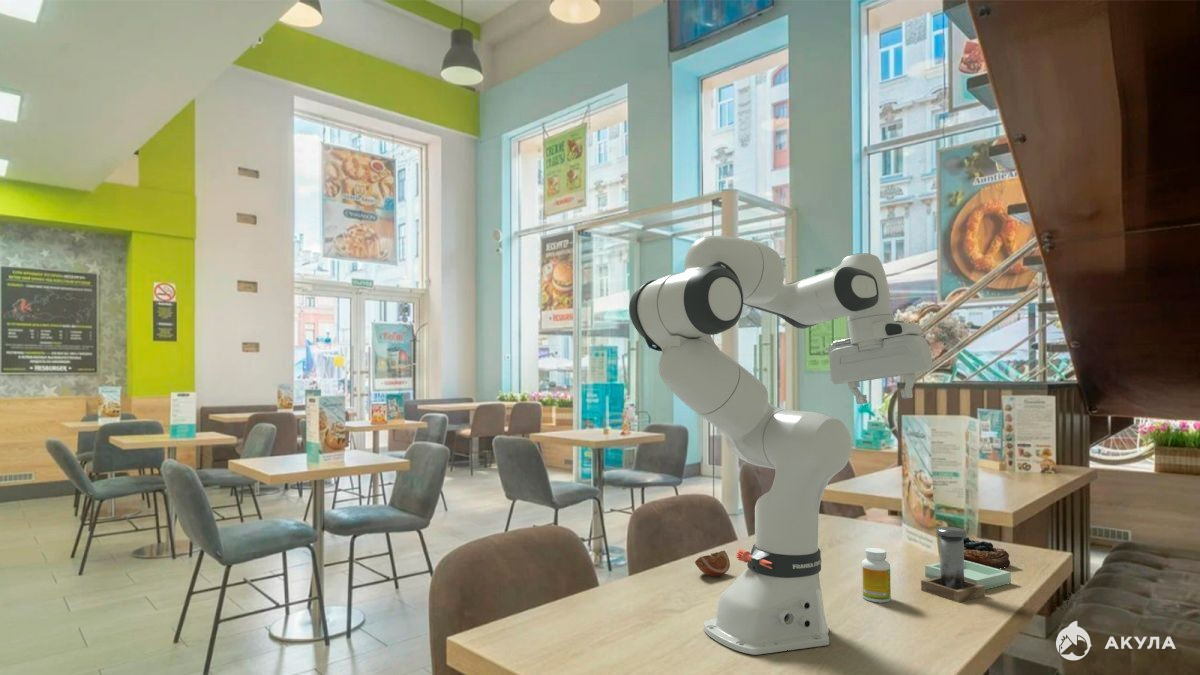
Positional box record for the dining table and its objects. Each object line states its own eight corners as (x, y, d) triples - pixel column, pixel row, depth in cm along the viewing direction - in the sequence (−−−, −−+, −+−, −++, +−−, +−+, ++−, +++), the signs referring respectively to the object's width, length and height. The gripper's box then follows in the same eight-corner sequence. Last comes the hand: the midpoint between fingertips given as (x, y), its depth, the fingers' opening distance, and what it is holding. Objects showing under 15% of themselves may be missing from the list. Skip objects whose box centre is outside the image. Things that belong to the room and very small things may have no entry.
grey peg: (956, 599, 138) (955, 534, 139) (931, 591, 143) (930, 528, 143) (973, 594, 141) (972, 531, 141) (948, 587, 146) (947, 525, 146)
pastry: (975, 555, 171) (974, 531, 171) (1018, 569, 160) (1017, 543, 160) (940, 559, 168) (940, 535, 168) (982, 573, 156) (982, 547, 157)
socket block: (958, 602, 136) (958, 592, 136) (921, 590, 144) (921, 580, 144) (984, 595, 140) (984, 585, 140) (946, 584, 147) (946, 574, 148)
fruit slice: (709, 582, 148) (709, 559, 148) (687, 575, 153) (687, 552, 154) (735, 575, 153) (735, 553, 153) (713, 568, 159) (713, 546, 159)
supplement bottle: (893, 604, 135) (892, 554, 135) (864, 602, 136) (864, 552, 136) (887, 595, 140) (887, 547, 141) (860, 593, 141) (859, 546, 142)
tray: (976, 592, 142) (976, 580, 142) (925, 576, 153) (925, 565, 153) (1010, 583, 148) (1010, 572, 148) (959, 569, 159) (958, 558, 159)
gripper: (818, 342, 144) (829, 407, 142) (914, 322, 129) (927, 395, 127) (834, 342, 148) (844, 406, 146) (929, 323, 133) (942, 394, 131)
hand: (884, 401), depth 136 cm, fingers open, 8 cm apart
